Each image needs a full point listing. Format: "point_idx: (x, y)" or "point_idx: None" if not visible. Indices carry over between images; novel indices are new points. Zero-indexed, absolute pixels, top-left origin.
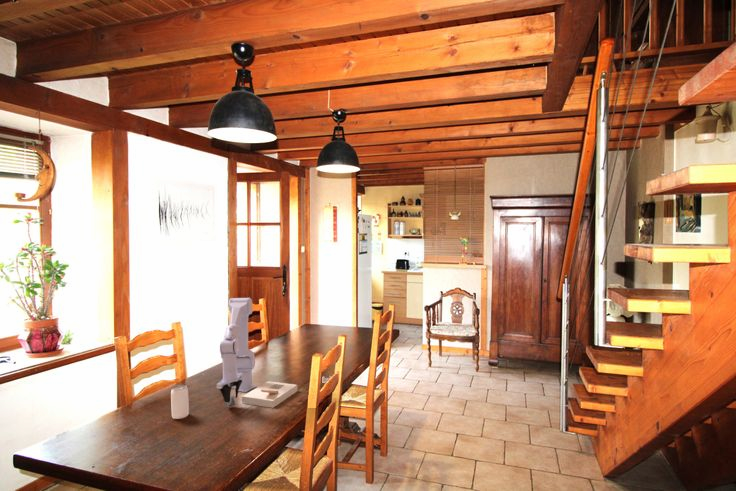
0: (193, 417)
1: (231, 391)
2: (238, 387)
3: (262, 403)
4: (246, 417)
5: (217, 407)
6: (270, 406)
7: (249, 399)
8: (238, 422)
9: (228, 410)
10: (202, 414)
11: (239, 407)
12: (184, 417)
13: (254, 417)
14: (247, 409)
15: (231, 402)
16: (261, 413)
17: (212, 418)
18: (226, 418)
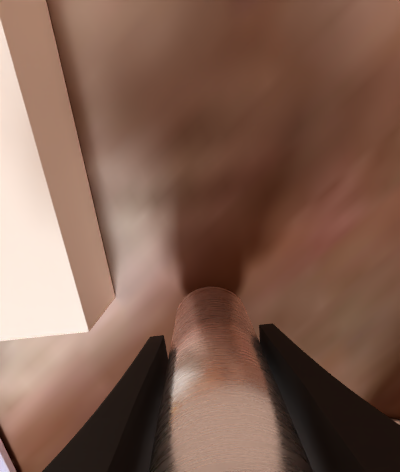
0: (380, 386)
1: (285, 439)
2: (84, 466)
3: (54, 99)
4: (293, 81)
5: None
6: (42, 6)
7: (79, 247)
8: (388, 75)
9: (241, 292)
10: (336, 376)
11: (174, 264)
12: (395, 419)
13: (272, 7)
14: (175, 187)
15: (240, 310)
16: (184, 6)
17: (369, 293)
18: (348, 214)
